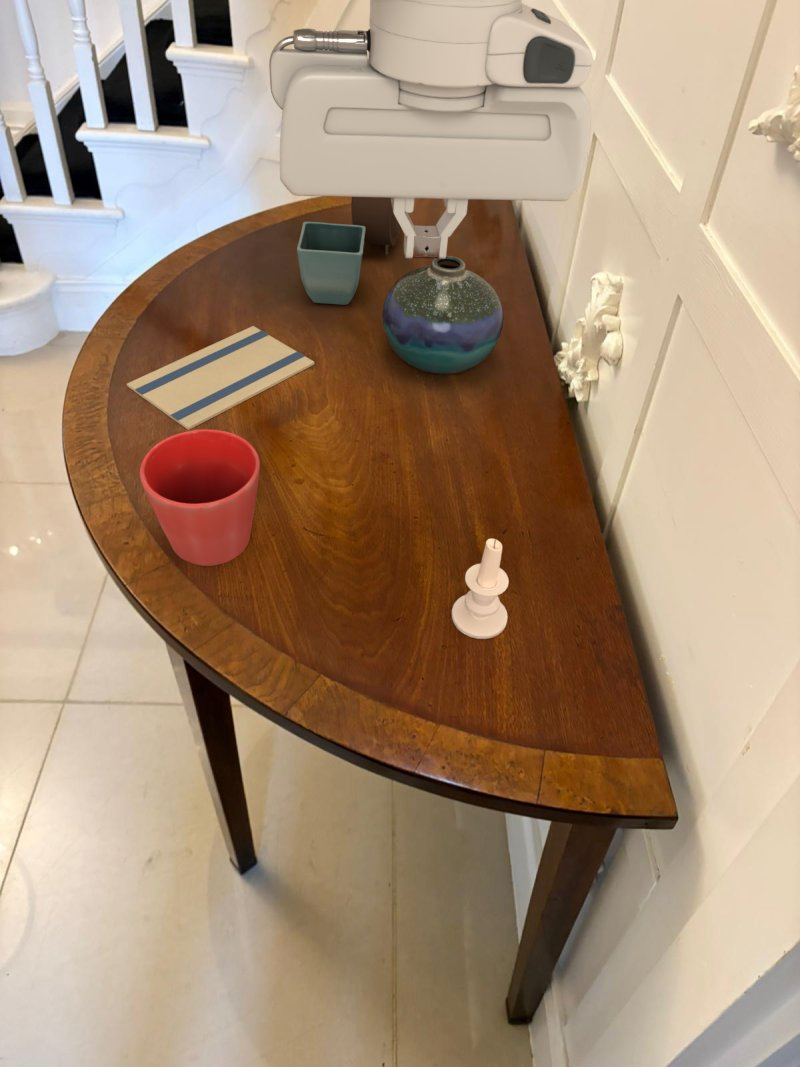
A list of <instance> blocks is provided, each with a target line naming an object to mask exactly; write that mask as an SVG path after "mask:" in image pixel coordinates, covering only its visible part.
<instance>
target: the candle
mask: <svg viewBox="0 0 800 1067" xmlns="http://www.w3.org/2000/svg"><path fill="white" fill-rule="evenodd" d="M502 553H503V544H502V543H501V541H499V540H498V539H496V538H488V539H487V540H486V541H485V545H484V550H483V553H482V557H481V562H480V563H476V564H474V565H471V566H470V567H469V568H468V569H467V571H466V572H465V576H464V579H465V584H466V586H467V587H468V588H469V590H468V592H466V594H464V595H462V596H460V597H458V599H456V600H455V601H454V603H453V604H452V609H451V620H452V623H453V625H454V626H455V627H456V629H457V630H458V631H460V633H462V634H463V635H465V636H467V637H469V638H473V639H477V640H487V639H492V638H495V637H497V636H499V635H500V634H501V633H502V632H503V631H504V630H505V628H506V627H507V624H508V619H509V618H508V612H507V609H506V607H505V606H504V604H503V603H502V602H501V601H500V600H501V599H500V597H499V595H502V594H503V593H505V591H506V590H507V589H508V587H509V581H510V580H509V577H508V573H506V572H505V570H503V569H502V568H501V567H500V565H501V560H502Z"/></svg>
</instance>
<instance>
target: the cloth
mask: <svg viewBox="0 0 800 1067" xmlns="http://www.w3.org/2000/svg"><path fill="white" fill-rule="evenodd" d="M314 365H316V364H315V361H314V360H312V359H311V358H309V357H308V356H306V355H305V354H303V353H302V352H300V351H298V350H295V349H293V347H290V346H288V345H287V344H285V343H284V342H282V341H280V340H278V339H276V338H275V337H273V336H271V335H270V334H269V333H267V332H266V331H264V330H262V329H259V328H258V327H256V326H255V325H252V326H250V327H247V328H246V329H243V330H240V331H239V332H237V333H234V334H232V335H230V336H228V337H226V338H224V339H222V340H219V341H217V342H214V343H213V344H211V345H208V346H206V347H204V348H202V349H200V350H198V351H195V352H193V353H191V354H188V355H186V356H184V357H182V358H180V359H178V360H176V361H173V362H170V363H169V364H166V365H165V366H162V367H160V368H158V369H155V370H153V371H151V372H149V373H147V374H145V375H143V376H140V377H138V378H136V379H134V380H132V381H129V382H127V383H126V387H128V388H129V389H130V390H132V391H133V392H134V393H136V394H137V395H138V396H140V397H141V398H142V399H144V400H146V401H147V403H150V404H151V405H152V406H153V407H155V408H156V409H158V410H159V411H161V412H162V413H163V414H164V415H166V416H168V417H169V418H170V419H172V420H173V421H174V422H176V423H177V424H179V425H180V426H181V427H183V428H184V429H186V431H191V430H192V429H193V428H196V427H197V426H199V425H201V424H203V423H205V422H207V421H209V420H212V419H213V418H215V417H217V416H219V415H220V414H222V413H224V412H226V411H228V410H230V409H232V408H234V407H236V406H237V405H240V404H242V403H244V402H245V401H248V400H249V399H252V398H253V397H255V396H257V395H259V394H260V393H263V392H265V391H267V390H268V389H270V388H272V387H275V386H276V385H278V384H280V383H281V382H283V381H285V380H288V379H289V378H291V377H293V376H295V375H297V374H299V373H301V372H303V371H305V370H307V369H309V368H310V367H313V366H314Z"/></svg>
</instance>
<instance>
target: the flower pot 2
mask: <svg viewBox="0 0 800 1067" xmlns="http://www.w3.org/2000/svg"><path fill="white" fill-rule="evenodd" d="M365 229H366V228H365V226H359V225H353V224H343V223H342V224H341V223H330V222H320V221H303V223H302V227H301V232H300V235H299V240H298V244H297V246H296V252H297V259H298V265H299V267H298V268H299V272H300V278H301V282H302V285H303V288H304V290H305V293H306V295H307V296H308V297H309V298H310V300H311V302H313V303H315V304H327V305H328V304H329V305H341V306H343V305H344V306H347V305H350V303H351V301H352V300H353V298H354V296H355V294H356V292H357V289H358V286H359V282H360V277H361V276H360V275H361V269H362V260H363V256H362V254H363V245H364V237H365Z"/></svg>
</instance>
